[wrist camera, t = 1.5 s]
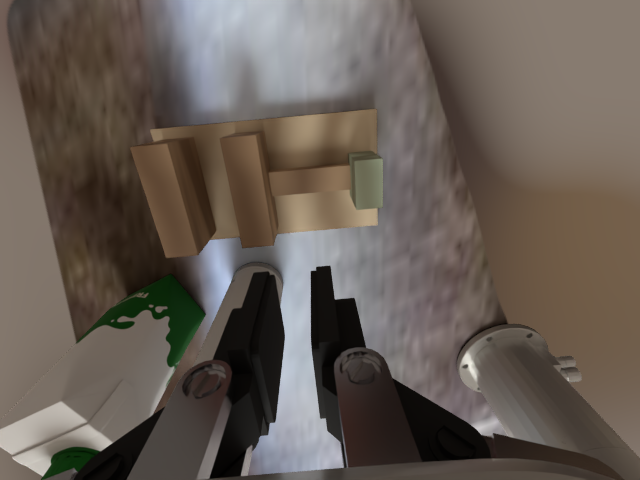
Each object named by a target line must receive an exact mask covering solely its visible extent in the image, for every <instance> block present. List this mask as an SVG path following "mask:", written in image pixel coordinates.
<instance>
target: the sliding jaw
mask: <svg viewBox="0 0 640 480" xmlns="http://www.w3.org/2000/svg"><path fill="white" fill-rule="evenodd" d="M219 139H220V144H221V149H222V153H223V158H224V163H225V168H226V173H227V177H228V182H229V187H230V192H231V196H232V201H233V206H234V211H235V215H236V220H237V225H238V230H239V235H240V239H241V244H242V248H250V247H262V246H273V245H274V242H275V239H276V235H277V231H278V227H279V225H278V218H277V211H276V205H275V198H274V196H283V195H294V194H306V193H317V192H328V191H339V190H350V197H351V199H352V201H353V204H354V206H355V208H356V210H363V209H374V208H383V158H381V157H380V156H378V155H377V154H376V153H374V152H373V151H363V152H352V153H348V163H342V164H331V165H320V166H309V167H298V168H287V169H275V170H270V165H269V158H268V151H267V145H266V138H265V131H254V132H243V133H233V134H230V135H228V136H225V137H222V138H219Z"/></svg>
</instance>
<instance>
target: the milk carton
mask: <svg viewBox="0 0 640 480" xmlns="http://www.w3.org/2000/svg"><path fill="white" fill-rule="evenodd" d="M205 315H206V314H205V313H204V312H203V311H202V310H201V308H200V307H199V306H198V305H197V304H196V302H195V301H194V300H193V299H192V298H191V297H190V295H189V294H188V293H187V292H186V291H185V289H184V288H183V287H182V286H181V285H180V284H179V282H178V281H177V280H176V279H175V278H174V276H173V275H172V274H170V275H168V276H166V277H164V278H162V279H160V280H158V281H156V282H154V283H152V284H150V285H148V286H146V287H144V288H142V289H140V290H138V291H137V292H135V293H133V294H131V295H129V296H127V297H126V298H124V299H123V300H121V301H120V302H119V303H117V304H116V305H114V306H113V307H112V308H110V309H109V310H108V311H107V312H106V313H105V314H104V315H103V316H102V317H101V318H100V319H99V320H98V321H97V322H96V323H95V324H94V325H93V326H92V327H91V328H90V329H89V330H88V331H87V332H86V333H85V334H84V335H83V336H82V337H81V338H80V339H79V340H78V341H77V342H76V343H75V344H74V345H73V346H72V348H70V349H69V350H68V352H66V354H65V355H63V357H61V358H60V359H59V361H58V362H57V363H56V364H55V365H54V366H53V367H52V368H51V369H50V370H49V371H48V372H47V373H46V374H45V375H44V376H43V377H42V378H41V379H40V380H39V381H38V382H37V383H36V384H35V385H34V386H33V387H32V388H31V389H30V390H29V391H28V392H27V394H26V395H25V396H24V397H23V398H22V399H21V400H20V401H19V402H18V403H17V404H16V405H15V406H14V407H13V408H12V409H11V410H10V411H9V412H8V413H7V414H6V415H5V416H4V417H3V418H2V419H1V420H0V447H1V448H3V449H4V450H6V451H7V452H9V453H10V454H12V455H13V456H12V459H14V460H15V461H17V462H18V463H20V464H22V465H25V466H27V467H29V468H30V469H32V470H33V471H35V472H37V473H38V474H40V475H42V476H43V477H42V479H41V480H44V479H47V478H49V477H52V476H54V475H57V474H60V473H62V472H65V471H67V470H70V469H73V468H75V470H76V471H77V472H79V471H80V469H81V468H82V467H83V466H84V465H85V464H86V463H87V462H88V461H89V460H90V459H91V458H93V457H94V456H95V455H96V454H98V453H99V452H100V451H102V450H103V449H105V448H106V447H108V446H109V445H110V444H112V443H113V442H115V441H116V440H118V439H119V438H121V437H122V436H123V435H125V434H126V433H128V432H129V431H131V430H132V429H134V428H135V427H136V426H138V425H139V424H141V423H142V422H144V421H145V420H146V419H148V418H149V417H151V416H152V415H153V413H154V411H155V409H156V407H157V405H158V403H159V401H160V399H161V397H162V395H163V393H164V391H165V389H166V387H167V385H168V383H169V381H170V379H171V377H172V375H173V373H174V371H175V370H176V368H177V366H178V364H179V362H180V360H181V358H182V356H183V354H184V352H185V350H186V348H187V347H188V345H189V343H190V341H191V340H192V338H193V336H194V334H195V333H196V331H197V329H198V327H199V326H200V324H201V322H202V320H203V319H204V317H205Z"/></svg>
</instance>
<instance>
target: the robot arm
mask: <svg viewBox="0 0 640 480" xmlns="http://www.w3.org/2000/svg"><path fill="white" fill-rule="evenodd" d="M284 341H285V333H284V326H283V320H282V314H281V308H280V302H279V296H278V290H277V284H276V278H275V275H270V273H269V271H265V272H254V273H253V275H252V278H251V281H250V284H249V287H248V290H247V293H246V296H245V299H244V302H243V305H242V307H241V308H234V309H232V311H231V313H230V316H229V318H228V321H227V323H226V326H225V328H224V331H223V334H222V336H221V339H220V341H219V344H218V347H217V349H216V352H215V354H214V357H213V359H212V360H208V361H204V362H202V363H199V364H197V365H195V366H194V367H192V368H190V369H189V370H188V371H187V372H186V373H185V374H184V375H183V376H182V377H181V379H180V380H179V382H178V383H177V385H176V387H175V389H174V391H173V393H172V395H171V397H170V399H169V400H168V402H167V404H166V406H165V407H164V408H162V409H161V410H159V411H158V412H157V413H155V414H154V415H152V416H151V417H149V418H148V419H146V420H145V421H144V422H142V423H141V424H139V425H138V426H136V427H135V428H134V429H132V430H131V431H129V432H128V433H126V434H125V435H123V436H122V437H121V438H119V439H118V440H116V441H115V442H113V443H112V444H110V445H109V446H108V447H106V448H105V449H103V450H102V451H100V452H99V453H98V454H96V455H95V456H94V457H93V458H91V459H90V460H89V461H88V462H87V463H86V464H85V465H84V466H83V467H82V468H81V469H80V471H79V472H77V471H76V470H75V468H73V469H70V470H67V471H65V472H62V473H60V474H57V475H54V476H52V477H49V478H47V479H44V480H640V458H639V457H638V456H637V455H636V453H635V452H634V451H633V450H632V449H631V448H630V447H629V446H628V445H627V444H626V443H625V442H624V441H623V440H622V439H621V438H620V436H619V435H617V433H616V432H615V431H614V430H613V429H612V428H611V427H610V426H609V425H608V424H607V423H606V422H605V421H604V419H603V418H602V417H601V416H600V415H599V414H598V413H597V412H596V411H595V410H594V409H593V408H592V407H591V405H590V404H589V403H588V402H587V401H586V400H585V399H584V398H583V397H582V396H581V395H580V394H579V393H578V392H577V391H576V389H574V387H573V386H572V385H571V384H570V383H569V382H577V381H581V379H582V377H581V374H580V371H579V370H578V369H577V368H576V367H574V366H575V365H576V362H575V359H574V358H573V357H572V356H563V357H557V358H556V357H554V356H552V355H551V354H550V353H549V352H548V346H547V343H546V341H545V340H544V339H543V338H542V337H541V335H540V334H539V333H538V332H536V331H535V330H534V329H532V328H530V327H528V326H524V325H520V324H505V325H499V326H495V327H492V328H489V329H487V330H485V331H483V332H481V333H479V334H477V335H476V336H475V337H473V338H472V339H471V340H470V341H469V342H468V343H467V344H466V345H465V346H464V347H463V349H462V350H461V352H460V354H459V357H458V360H457V370H458V373H459V376H460V377H461V379H462V381H463V382H464V383H465V384H466V386H468V387H469V388H471V389H472V390H475V391H477V392H481V393H482V394H483V395H484V397H485V399H486V400H487V402H488V404H489V405H490V407H491V409H492V410H493V412H494V414H495V415H496V417H497V419H498V420H499V422H500V424H501V425H502V427H503V429H504V430H505V432H506V434H507V435H508V436H504V435H499V434H495V433H493V435H492V437H487V436H483V435H481V434H480V433H479V432H478V431H477V430H476V429H475V428H474V427H472V426H471V425H470V424H468V423H467V422H465V421H464V420H462V419H460V418H459V417H457V416H455V415H454V414H452V413H450V412H449V411H447V410H445V409H443V408H442V407H440V406H438V405H437V404H435V403H433V402H432V401H430V400H428V399H427V398H425V397H423V396H422V395H420V394H418V393H417V392H415V391H413V390H412V389H410V388H408V387H406V386H405V385H403V384H401V383H400V382H398V381H396V380H395V379H393V378H392V376H391V373H390V370H389V368H388V365H387V363H386V361H385V359H384V358H383V357H382V356H381V355H380V354H379V353H378V352H376V351H374V350H372V349H368V348H366V345H365V341H364V337H363V332H362V328H361V324H360V319H359V315H358V311H357V306H356V302H355V299H354V298H349V299H337V300H335V299H334V291H333V283H332V275H331V267H330V266H322V267H316V271H311V345H312V355H313V363H314V371H315V379H316V387H317V395H318V403H319V412H320V418H321V419H322V418H326V422H327V431H328V432H330V433H331V434H332V435H333V436H334V437H335V438H337V439H338V440H339V441H340V444H341V452H342V460H343V467H344V468H337V469H324V470H311V471H299V472H287V473H275V474H262V475H250V476H247V475H248V471H249V466H250V461H251V456H252V444H253V443H254V442H255V441H256V440H257V439H258V438H259V437H260V436H263V435H268V432H269V424H270V423H274V422H275V420H276V413H277V404H278V395H279V386H280V377H281V368H282V359H283V350H284Z"/></svg>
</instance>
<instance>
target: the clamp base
mask: <svg viewBox="0 0 640 480" xmlns="http://www.w3.org/2000/svg"><path fill="white" fill-rule="evenodd" d="M150 131H151V135H152V138H153V141H154V142H150V143H146V144H142V145H137V146H133V147H130V149H131V152H132V155H133V158H134V161H135V165H136V168H137V171H138V174H139V177H140V180H141V183H142V186H143V189H144V192H145V195H146V198H147V201H148V204H149V207H150V210H151V213H152V216H153V219H154V222H155V225H156V228H157V231H158V234H159V237H160V240H161V243H162V247H163V250H164V253H165V256H166V258H172V257H183V256H195V255H199V253H200V252H201V251H202V250H203V248H204V247H205V246H206V244H207V243H208V242H209V240H214V239H225V238H236V237H240V235H239V230H238V225H237V220H236V215H235V211H234V206H233V201H232V196H231V192H230V187H229V182H228V177H227V173H226V168H225V163H224V158H223V153H222V149H221V144H220V139H219V138H222V137H225V136H228V135H230V134H233V133H243V132H254V131H265V138H266V145H267V151H268V158H269V165H270V170H275V169H287V168H298V167H309V166H320V165H331V164H342V163H348V153H352V152H363V151H373V152H374V153H376V154H377V109H368V110H357V111H346V112H335V113H324V114H313V115H302V116H291V117H281V118H270V119H259V120H248V121H237V122H226V123H215V124H204V125H193V126H182V127H171V128H160V129H152V130H150ZM274 198H275V205H276V211H277V218H278V225H279V227H278V231H277V234H281V233H293V232H304V231H315V230H327V229H338V228H349V227H360V226H372V225H378V220H377V208H374V209H363V210H356V208H355V206H354V204H353V201H352V199H351V197H350V190H339V191H328V192H317V193H306V194H294V195H283V196H274Z"/></svg>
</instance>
